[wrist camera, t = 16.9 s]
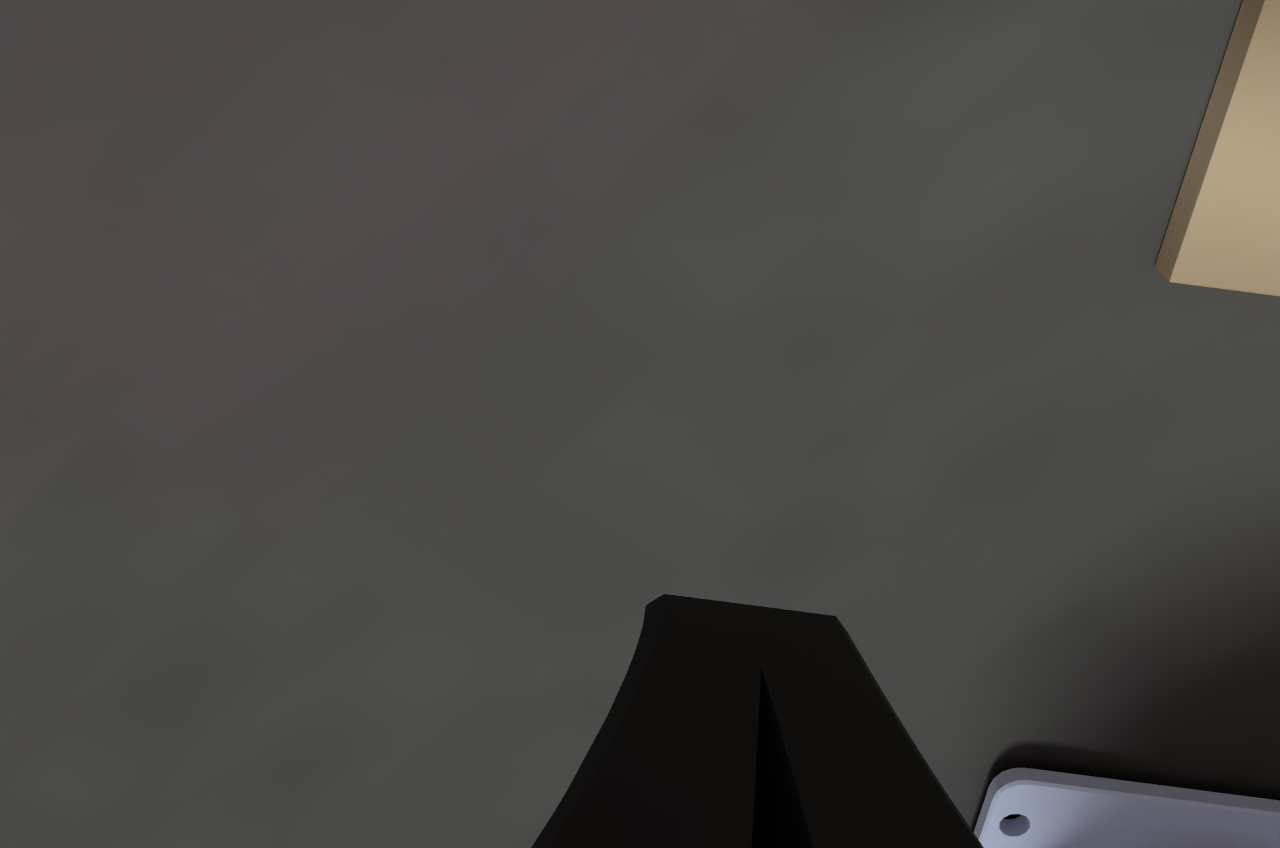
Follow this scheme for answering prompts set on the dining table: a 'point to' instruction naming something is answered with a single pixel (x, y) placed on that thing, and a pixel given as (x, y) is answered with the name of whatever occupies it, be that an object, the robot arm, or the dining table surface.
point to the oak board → (1234, 170)
